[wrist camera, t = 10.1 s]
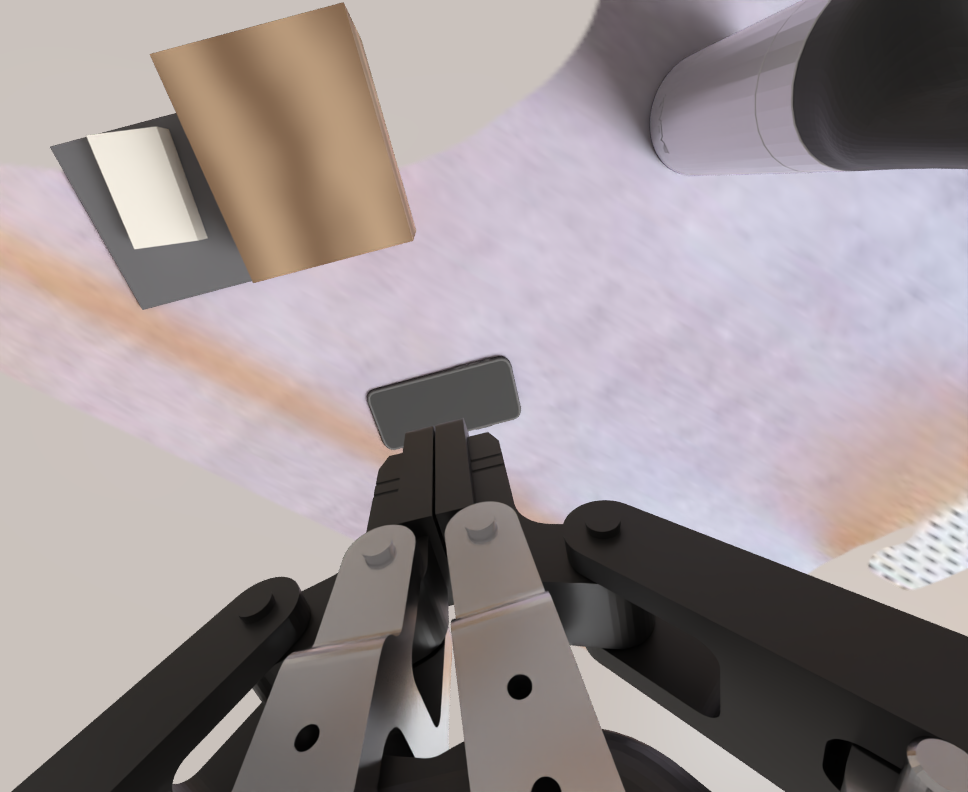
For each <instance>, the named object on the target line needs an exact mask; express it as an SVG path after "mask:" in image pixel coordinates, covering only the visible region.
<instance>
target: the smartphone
mask: <svg viewBox="0 0 968 792" xmlns="http://www.w3.org/2000/svg"><path fill="white" fill-rule="evenodd" d="M368 404H369V406H370V409H371V412H372V414H373V417H374V419H375V422H376V425H377V427H378V430H379V432H380V435H381V438H382V440H383V443H384V444H385V446H386V447H387V448H389V449H391V450H396V449H400V448H403V447H404V439H405V433H406V432H410V431H414V430H418V429H422V428H426V427H430V426H434V427H435V426H436V425H438V424H442V423H446V422H450V421H454V420H459V419H463V418H464V421H465V424H466V427H467V431H471V430H475V429H476V430H477V429H481V428H485V427H489V426H492V425H494V424H498V423H502V422H506V421H510V420H514V419H516V418H517V417H519V415H520V412H521V406H520V402H519V397H518V393H517V389H516V384H515V380H514V375H513V371H512V366H511V363H510V361H509V360H508V359H507V358H506V357H503V356H498V357H494V358H491V359H489V358H488V359H484V360H483V361H476V362H473V363H469V364H467V365H461V366H457V367H455V368H452V369H448V370H444V371H441V372H437V373H433V374H429V375H426V376H422V377H418V378H414V379H410V380H407V381H403V382H399V383H395V384H392V385H388V386H384V387H380V388H376V389H373V390H371V391H370V392H369V393H368Z"/></svg>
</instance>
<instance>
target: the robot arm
mask: <svg viewBox="0 0 968 792" xmlns="http://www.w3.org/2000/svg"><path fill="white" fill-rule="evenodd" d="M650 133H651V139H652V143H653V146H654V148H655V151H656V153H657V155H658V156H659V158H660V159H661V161H662V162H663V163H664V164H665V165H666V166H667V167H669V168H670V169H671V170H673V171H675V172H677V173H679V174H683V175H688V176H700V175H748V174H782V173H812V172H841V171H867V170H887V169H927V168H941V169H968V0H802V1H800V2H797V3H795V4H793V5H791V6H789V7H787V8H785V9H783V10H781V11H779V12H777V13H775V14H773V15H771V16H769V17H767V18H765V19H763V20H761V21H759V22H757V23H755V24H753V25H751V26H749V27H747V28H745V29H743V30H741V31H739V32H737V33H735V34H733V35H731V36H729V37H727V38H725V39H722V40H720V41H718V42H716V43H714V44H712V45H710V46H708V47H706V48H704V49H702V50H700V51H698V52H696V53H694V54H692V55H690V56H688V57H686V58H685V59H683V60H682V61H681V62H680V63H678V64H677V65H676V66H675V67H674V68H673V69H672V70H671V71H670V72H669V73H668V75H667V76H666V77H665V78H664V80H663V82H662V84H661V85H660V87H659V89H658V91H657V93H656V96H655V99H654V101H653V105H652V110H651V115H650ZM376 485H377V486H375V491H374V498H373V501H372V506H371V511H370V517H369V522H368V527H367V532H366V533H365V534H364V535H362V536H361V537H359V538H358V539H357V540H356V541H355V542H354V543H352V545H351V546H350V547H349V548H348V550H347V551H346V553H345V555H344V557H343V560H342V563H341V566H340V569H339V572H338V573H337V574H336V575H334V576H332V577H330V578H328V579H326V580H324V581H322V582H320V583H318V584H316V585H314V586H312V587H310V588H308V589H306V590H304V591H302V592H301V590H300V588H299V586H298V584H297V583H296V582H295V581H294V580H292V579H290V578H287V577H275V578H270V579H267V580H264V581H262V582H259V583H257V584H255V585H253V586H252V587H250V588H248V589H247V590H245V591H244V592H243V593H241V594H240V595H239V596H238V597H236V598H235V599H234V600H233V601H232V602H231V603H229V604H228V605H227V606H226V607H225V608H224V609H222V610H221V611H220V612H219V613H218V614H217V615H216V616H214V617H213V618H212V619H211V620H210V621H209V622H207V623H206V624H205V625H204V626H203V627H202V628H201V629H199V630H198V631H197V632H196V633H195V634H193V636H191V637H190V638H189V639H188V640H187V641H185V642H184V643H183V644H182V645H181V646H180V647H178V648H177V649H176V650H175V651H174V652H173V653H171V654H170V655H169V656H168V657H167V658H166V659H165V660H163V661H162V662H161V663H160V664H159V665H158V666H156V667H155V668H154V669H153V670H152V671H151V672H149V673H148V674H147V675H146V676H145V677H144V678H142V679H141V680H140V681H139V682H138V683H137V684H135V685H134V686H133V687H132V688H131V689H130V690H129V691H127V692H126V693H125V694H124V695H123V696H122V697H120V698H119V699H118V700H117V701H116V702H115V703H114V704H112V705H111V706H110V707H109V708H108V709H107V710H105V711H104V712H103V713H102V714H101V715H100V716H99V717H97V718H96V719H95V720H94V721H93V722H91V723H90V724H89V725H88V726H87V727H86V728H85V729H83V730H82V731H81V732H80V733H79V734H78V735H76V736H75V737H74V738H73V739H72V740H71V741H69V742H68V743H67V744H66V745H65V746H64V747H63V748H61V749H60V750H59V751H58V752H57V753H56V754H55V755H53V756H52V757H51V758H50V759H49V760H47V761H46V762H45V763H44V764H43V765H42V766H41V767H40V768H38V769H37V770H36V771H35V772H34V773H32V774H31V775H30V776H29V777H28V778H27V779H26V780H24V781H23V782H22V783H21V784H20V785H19V786H17V787H16V788H15V789H14V790H13V791H12V792H711V791H710V790H709V789H707V788H706V787H705V786H704V785H703V784H701V783H700V782H698V780H696V779H695V778H694V777H693V776H692V775H690V774H689V773H688V772H687V771H685V770H684V769H683V768H682V767H680V766H679V765H678V764H677V763H675V762H674V761H673V760H671V759H670V758H668V757H666V756H665V755H664V754H662V753H660V752H659V751H657V750H656V749H654V748H652V747H651V746H649V745H647V744H645V743H643V742H640V741H638V740H636V739H634V738H632V737H629V736H625V735H623V734H620V733H617V732H614V731H609V730H604V729H601V726H600V724H599V721H598V719H597V716H596V714H595V711H594V708H593V705H592V703H591V700H590V698H589V695H588V692H587V690H586V687H585V684H584V682H583V679H582V676H581V674H580V671H579V669H578V666H577V663H576V661H575V658H574V655H573V653H572V650H571V648H570V645H574V646H585V647H586V649H587V650H588V652H589V653H590V655H591V656H592V657H593V658H594V659H595V660H597V661H598V662H599V663H600V664H602V665H603V666H605V667H606V668H608V669H609V670H611V671H612V672H613V673H615V674H616V675H618V676H619V677H621V678H622V679H624V680H625V681H626V682H628V683H629V684H631V685H632V686H634V687H635V688H637V689H638V690H639V691H641V692H642V693H644V694H645V695H647V696H648V697H650V698H651V699H652V700H654V701H656V702H657V703H658V704H660V705H661V706H663V707H664V708H665V709H667V710H668V711H670V712H671V713H673V714H674V715H675V716H677V717H678V718H680V719H681V720H683V721H684V722H686V723H687V724H688V725H690V726H691V727H693V728H694V729H696V730H697V731H699V732H700V733H702V734H703V735H704V736H706V737H707V738H709V739H710V740H712V741H713V742H714V743H716V744H717V745H719V746H720V747H722V748H723V749H725V750H726V751H728V752H729V753H730V754H732V755H733V756H735V757H736V758H738V759H739V760H740V761H742V762H743V763H745V764H746V765H748V766H749V767H750V768H752V769H753V770H755V771H756V772H758V773H759V774H761V775H762V776H764V777H765V778H766V779H768V780H769V781H771V782H772V783H774V784H775V785H776V786H778V787H779V788H781V789H782V790H784V791H785V792H968V637H967V636H965V635H962V634H960V633H957V632H955V631H952V630H949V629H947V628H944V627H941V626H939V625H936V624H934V623H931V622H929V621H926V620H924V619H921V618H918V617H916V616H913V615H911V614H908V613H906V612H903V611H900V610H898V609H895V608H893V607H890V606H887V605H885V604H882V603H880V602H877V601H875V600H872V599H869V598H867V597H864V596H862V595H859V594H856V593H854V592H851V591H849V590H846V589H843V588H841V587H838V586H836V585H833V584H831V583H828V582H825V581H823V580H820V579H818V578H815V577H813V576H810V575H807V574H805V573H802V572H800V571H797V570H795V569H792V568H789V567H787V566H784V565H782V564H779V563H777V562H774V561H771V560H769V559H766V558H764V557H761V556H758V555H756V554H753V553H751V552H748V551H746V550H743V549H740V548H738V547H735V546H733V545H730V544H727V543H725V542H722V541H720V540H717V539H715V538H712V537H709V536H707V535H704V534H702V533H699V532H697V531H694V530H691V529H689V528H686V527H684V526H681V525H678V524H676V523H673V522H671V521H668V520H666V519H663V518H660V517H658V516H655V515H653V514H650V513H648V512H645V511H642V510H640V509H637V508H635V507H632V506H629V505H627V504H624V503H621V502H617V501H609V500H602V501H593V502H589V503H586V504H584V505H581V506H579V507H577V508H576V509H574V510H573V511H572V512H571V513H570V514H569V515H568V516H567V518H566V519H565V521H564V524H543V523H537V522H534V521H531V520H529V519H527V518H525V517H524V516H522V515H521V514H520V513H519V512H518V510H517V509H516V507H515V504H514V501H513V497H512V493H511V489H510V485H509V480H508V476H507V472H506V468H505V464H504V460H503V456H502V452H501V448H500V444H499V440H497V439H496V438H495V437H494V436H492V435H491V434H490V433H488V432H486V433H482V434H478V435H474V436H470V437H469V434H468V431H467V427H466V424H465V421H464V418H463V419H459V420H454V421H450V422H446V423H442V424H438V425H436V426H435V427H434V426H430V427H426V428H422V429H418V430H414V431H410V432H406V433H405V439H404V447H403V453H400V454H396V455H392V456H389V457H388V458H387V460H386V461H385V462H384V464H383V465H382V466H381V468H380V469H379V471H378V476H377V481H376ZM450 605H454V607H455V615H456V619H453V620H452V621H451V632H450V630H449V627H448V624H449V618H448V617H449V616H448V606H450ZM451 634H452V636H451ZM452 643H453V651H454V659H455V668H456V676H457V684H458V692H459V700H460V708H461V717H462V725H463V733H464V742H462V743H460V744H458V745H456V746H455V747H453V748H451V749H449V743H448V730H449V729H448V728H449V706H450V684H451V661H452ZM252 688H253V690H254V691H255V693H256V694H257V696H258V697H259V698H260V700H261V701H262V703H261V704H260V705H259V706H258V707H257V708H256V709H255V711H254V712H253V713H252V714H251V715H250V716H249V717H248V718H247V719H246V720H245V722H243V724H242V725H241V726H240V727H239V728H238V729H237V730H236V731H235V732H234V733H233V735H232V736H231V737H230V738H229V739H228V740H227V741H226V742H225V743H224V744H223V745H222V746H221V748H220V749H219V750H218V751H217V752H216V753H215V754H214V755H213V756H212V757H211V759H209V761H208V762H207V763H206V764H205V765H204V766H203V767H202V768H201V769H200V770H199V771H198V772H197V773H196V774H195V775H194V776H193V777H192V778H190V779H188V780H187V781H185V782H182V783H180V784H172V783H173V779H174V776H175V773H176V771H177V769H178V768H179V766H180V764H181V763H182V762H183V760H184V759H185V758H186V757H187V756H188V755H189V753H190V752H191V751H192V750H193V749H194V748H195V747H196V746H197V745H198V744H199V743H200V742H201V741H202V740H203V739H204V738H205V737H206V736H207V735H208V734H209V733H210V732H211V731H212V729H213V728H214V727H215V726H216V725H217V724H218V723H219V722H220V721H221V720H222V719H223V718H224V717H225V716H226V715H227V714H228V713H229V712H230V711H231V710H232V709H233V708H234V706H235V705H236V704H237V703H238V702H239V701H240V700H241V699H242V698H243V697H244V696H245V695H246V694H247V693H248V692H249V691H250V690H251V689H252Z"/></svg>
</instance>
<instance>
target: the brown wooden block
mask: <svg viewBox="0 0 968 792" xmlns="http://www.w3.org/2000/svg"><path fill="white" fill-rule="evenodd" d="M150 56H151V58H152V60H153V62H154V65H155V67H156V69H157V71H158V73H159V76H160V78H161V80H162V82H163V85H164V87H165V89H166V91H167V94H168V96H169V98H170V100H171V102H172V105H173V107H174V109H175V111H176V113H177V116H178V118H179V120H180V122H181V125H182V127H183V129H184V131H185V133H186V136H187V138H188V140H189V142H190V144H191V147H192V149H193V151H194V153H195V155H196V158H197V160H198V162H199V164H200V167H201V169H202V171H203V173H204V175H205V178H206V180H207V182H208V184H209V186H210V189H211V191H212V193H213V195H214V197H215V200H216V202H217V204H218V206H219V208H220V211H221V213H222V215H223V217H224V220H225V222H226V224H227V226H228V228H229V231H230V233H231V235H232V237H233V239H234V242H235V244H236V246H237V248H238V250H239V253H240V255H241V257H242V259H243V262H244V264H245V266H246V268H247V270H248V273H249V275H250V277H251V279H252V281H253V283H256V282H259V281H263V280H267V279H271V278H274V277H278V276H282V275H286V274H290V273H293V272H297V271H301V270H305V269H308V268H312V267H316V266H320V265H324V264H327V263H331V262H335V261H339V260H342V259H346V258H350V257H354V256H357V255H361V254H365V253H369V252H373V251H376V250H380V249H384V248H388V247H391V246H395V245H399V244H403V243H407V242H410V241H413V240H414V236H415V233H416V228H415V225H414V221H413V218H412V215H411V211H410V208H409V204H408V201H407V197H406V194H405V190H404V187H403V183H402V180H401V176H400V173H399V169H398V166H397V162H396V159H395V155H394V152H393V148H392V145H391V141H390V138H389V135H388V131H387V127H386V124H385V120H384V117H383V113H382V110H381V106H380V103H379V99H378V96H377V93H376V89H375V86H374V82H373V79H372V75H371V72H370V69H369V65H368V61H367V58H366V54H365V51H364V47H363V44H362V40H361V38H360V36H359V34H358V32H357V30H356V27H355V25H354V23H353V21H352V19H351V17H350V15H349V13H348V11H347V9H346V7H345V4H344V3H339V4H336V5H332V6H328V7H325V8H320V9H317V10H313V11H309V12H305V13H302V14H298V15H295V16H291V17H287V18H283V19H279V20H276V21H272V22H268V23H265V24H261V25H257V26H253V27H249V28H246V29H242V30H238V31H234V32H231V33H227V34H223V35H220V36H216V37H212V38H209V39H205V40H201V41H197V42H193V43H190V44H186V45H182V46H178V47H175V48H171V49H167V50H163V51H160V52H156V53H152V54H150Z"/></svg>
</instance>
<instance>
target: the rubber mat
mask: <svg viewBox="0 0 968 792" xmlns="http://www.w3.org/2000/svg"><path fill="white" fill-rule="evenodd" d="M149 127H161V128H166V129H169V131H170V134H171V137H172V139H173V142H174V145H175V148H176V151H177V153H178V156H179V159H180V162H181V165H182V167H183V170H184V173H185V176H186V179H187V181H188V184H189V187H190V190H191V193H192V195H193V198H194V201H195V204H196V207H197V209H198V212H199V215H200V218H201V221H202V223H203V226H204V229H205V232H206V235H207V237H208V238H207V239H202V240H198V241H191V242H184V243H177V244H170V245H162V246H155V247H148V248H141V249H134V247H133V245H132V242H131V240H130V238H129V235H128V233H127V231H126V228H125V226H124V224H123V221H122V219H121V216H120V214H119V212H118V209H117V207H116V205H115V202H114V200H113V198H112V195H111V193H110V191H109V188H108V186H107V184H106V181H105V179H104V177H103V174H102V172H101V169H100V167H99V165H98V162H97V160H96V158H95V155H94V153H93V151H92V148H91V146H90V144H89V141H88V139H87V137H85V138H81V139H77V140H73V141H70V142H66V143H63V144H59V145H55V146H51V147H50V148H51V150H52V151H53V153H54V155H55V157H56V159H57V160H58V162H59V164H60V166H61V167H62V169H63V171H64V173H65V174H66V176H67V178H68V180H69V181H70V183H71V185H72V187H73V188H74V190H75V192H76V194H77V195H78V197H79V199H80V201H81V202H82V204H83V206H84V208H85V209H86V211H87V213H88V215H89V216H90V218H91V220H92V222H93V224H94V225H95V227H96V229H97V231H98V232H99V234H100V236H101V238H102V239H103V241H104V243H105V245H106V246H107V248H108V250H109V252H110V253H111V255H112V257H113V259H114V260H115V262H116V264H117V266H118V267H119V269H120V271H121V273H122V274H123V276H124V278H125V280H126V281H127V283H128V285H129V287H130V288H131V290H132V292H133V294H134V295H135V297H136V299H137V301H138V302H139V304H140V306H141V308H142V310H144V309H148V308H152V307H155V306H159V305H163V304H167V303H170V302H174V301H178V300H182V299H186V298H189V297H193V296H197V295H201V294H204V293H208V292H212V291H216V290H219V289H223V288H227V287H231V286H235V285H238V284H242V283H246V282H250V281H252V279H251V277H250V275H249V273H248V270H247V268H246V266H245V264H244V262H243V259H242V257H241V255H240V253H239V250H238V248H237V246H236V244H235V242H234V239H233V237H232V235H231V233H230V231H229V228H228V226H227V224H226V222H225V220H224V217H223V215H222V213H221V211H220V208H219V206H218V204H217V202H216V200H215V197H214V195H213V193H212V191H211V189H210V186H209V184H208V182H207V180H206V178H205V175H204V173H203V171H202V169H201V167H200V164H199V162H198V160H197V158H196V155H195V153H194V151H193V149H192V147H191V144H190V142H189V140H188V138H187V136H186V133H185V131H184V129H183V127H182V125H181V122H180V120H179V118H178V116H177V113H175V114H171V115H167V116H163V117H160V118H156V119H152V120H149V121H145V122H141V123H137V124H134V125H130V126H126V127H122V128H118V129H115V130H111V131H107V132H103V133H109V132H117V131H125V130H133V129H141V128H149ZM100 134H101V133H100Z"/></svg>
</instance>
